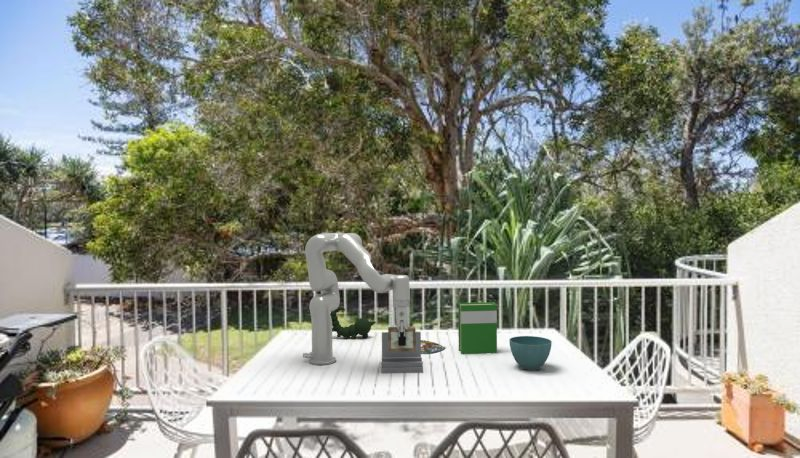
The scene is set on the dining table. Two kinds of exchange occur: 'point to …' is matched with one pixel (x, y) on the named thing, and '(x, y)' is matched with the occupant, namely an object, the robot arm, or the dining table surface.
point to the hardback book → (477, 327)
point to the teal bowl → (530, 351)
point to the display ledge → (401, 358)
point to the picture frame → (393, 339)
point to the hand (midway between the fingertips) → (402, 343)
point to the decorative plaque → (430, 347)
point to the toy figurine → (351, 326)
